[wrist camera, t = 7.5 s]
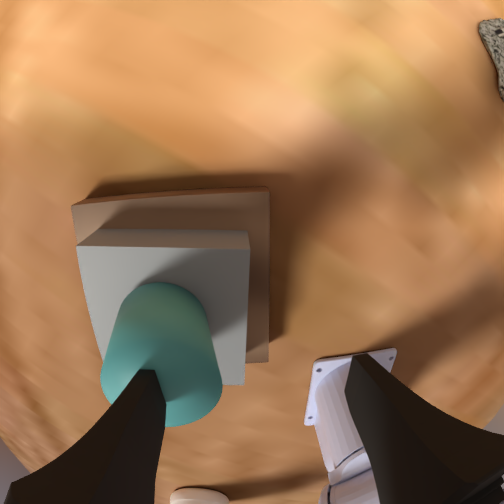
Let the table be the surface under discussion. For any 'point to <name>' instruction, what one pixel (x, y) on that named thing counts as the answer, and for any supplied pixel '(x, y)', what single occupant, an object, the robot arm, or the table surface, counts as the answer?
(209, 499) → the vodka
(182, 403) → the teal cylinder
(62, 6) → the table surface
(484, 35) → the rock sample
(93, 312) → the gray top slab
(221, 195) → the walnut base slab
